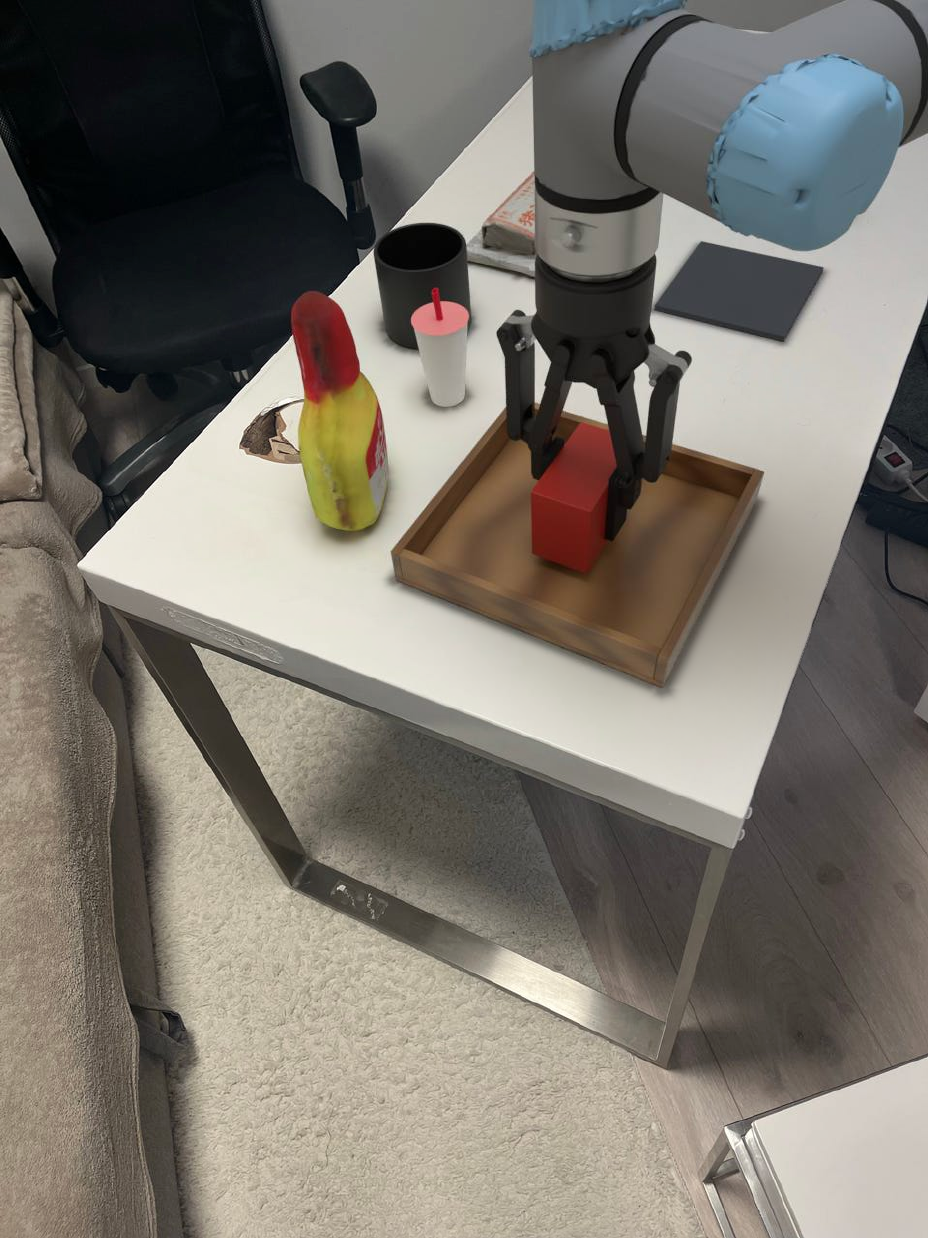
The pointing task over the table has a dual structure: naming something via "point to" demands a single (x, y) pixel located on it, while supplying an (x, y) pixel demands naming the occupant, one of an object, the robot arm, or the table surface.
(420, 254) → the mug
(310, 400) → the bottle
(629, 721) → the table surface
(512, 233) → the packaged product
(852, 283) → the table surface
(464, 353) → the cup
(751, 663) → the table surface
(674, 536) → the tray
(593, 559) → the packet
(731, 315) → the mat
